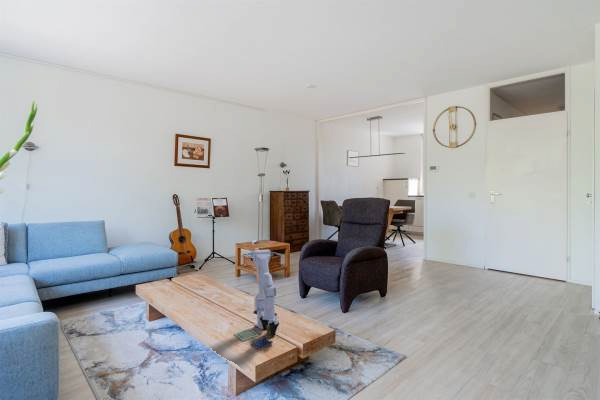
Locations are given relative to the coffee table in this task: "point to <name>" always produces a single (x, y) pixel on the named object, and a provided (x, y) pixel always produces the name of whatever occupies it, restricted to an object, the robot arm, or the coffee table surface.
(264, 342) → the ink pad
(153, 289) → the coffee table surface
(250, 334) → the board
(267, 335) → the stamp
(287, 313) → the coffee table surface
